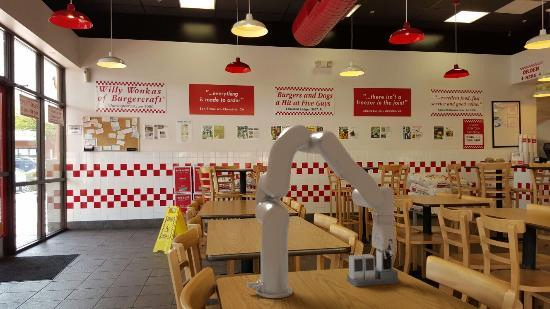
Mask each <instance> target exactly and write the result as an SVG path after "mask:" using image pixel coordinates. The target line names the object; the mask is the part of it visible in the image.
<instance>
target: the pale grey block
mask: <svg viewBox="0 0 550 309" xmlns="http://www.w3.org/2000/svg"><path fill="white" fill-rule="evenodd" d="M387 253H389V252H386V254H387ZM375 256H376V257H375V259H376V265H375V267H377V270H379V271H381V272H382V271H391V269H386V270H384V269H383V259H384V252H383V251H381V250H375Z"/></svg>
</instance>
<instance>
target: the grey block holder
mask: <svg viewBox="0 0 550 309" xmlns="http://www.w3.org/2000/svg"><path fill="white" fill-rule="evenodd" d="M375 259H376V257H375V256H374V255H372V254H370V253H367V254H366V253H365V254H363V253H362V254H349V255H348V274H347V275H346V281H347V282H348V283H350V284H352V285H353V286H354V287H356V288H357V287H371V286H372V287H373V286H380V285H391V284H392V285H393V284H399V282H400V280H399V270H396V269H395V268H393V267H392V268H391V271H382V272H381V271H379V270H377V267H376V265H375Z"/></svg>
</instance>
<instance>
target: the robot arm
mask: <svg viewBox="0 0 550 309" xmlns="http://www.w3.org/2000/svg"><path fill="white" fill-rule="evenodd" d="M297 152H301V153H307V154H314V155H320V156H321V157H322V158H323V160H324V161H325V163H327V166H328V167H329V168H330V169H331V172H333V173H334V174H335V175H336V176H337V177H338V178H340V179H341V180H343V181H345V182H346V183H347V184H350V185H351V186H352V187H353V188H354V189H353V191H352V192H351V200H352V202H353V203H354V204H355V205H358V206H360V207H365V208H369V209H373V222H372V230H371V246H372V247H373V248H374V250H375V251H376V250H381V251H383V252H384V259H383V269H384V270H386V269H391V268H393V267H392V265H393V264H392V262H393V261H392V260H393V256H394V255H395V254H396V250H395V248H396V238H395V237H396V236H395V234H396V233H395V227H394V224H395V219H394V218H395V209H394V208H395V206H394V205H395V199H394V198H395V196H394V195H395V193H394V192H395V191H394V189H393V187H391V186H379V185H378V182H376V180H375V179H374V178H373V177H372V176H371V174H370V173H368V172H367V171H366V169H364V168H363V167H361V165H359V164H358V163H357V162H356V161H355V160H354V159H353V158H352V156H351V154H350V153H348V151H347V149H346V148H345V147H344V145H343V144H342V143H341V141H340V139H339V138H338V137H337V136H336V134H335V133H333V132H332V131H330V130H323V131H311V130H310V129H309V128H308V127H307V126H305V125H303V124H295V125H291V126H288V127H286V128H284V129H282V130H281V132H280V133H279V135H278V136H277V137H276V139H275V140H274V142H273V143H272V145H271V148H270V151H269V155H268V160H267V166H266V171H264V172H263V173H262V174H261V175H260V176H259V178H258V182H257V186H256V192H255V193H256V194H255V195H256V196H255V202H254V215H255V219H256V221H257V222H258V223H259V224H260V225H261V233H260V277H259V278H258V280H256V281H252V282H249V281H248V282H247V283H246V284H247V289H252V290H256V294H257V295H258V296H259V297H263V298H268V299H281V298H286V297H289V296H291V295H292V294H293V288H292V286H289V246H288V245H289V242H288V241H289V227H290V213H289V211H288V208H287V207H286V206H284V205H283V204H282V203H281V199H282V198H285V197H286V196H287V194H288V193H289V192H290V188H291V187H290V186H291V177H292V176H291V175H292V166H293V162H294V161H293V160H294V157H295V155H296V154H297ZM386 252H389V253H387V254H386Z"/></svg>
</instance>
